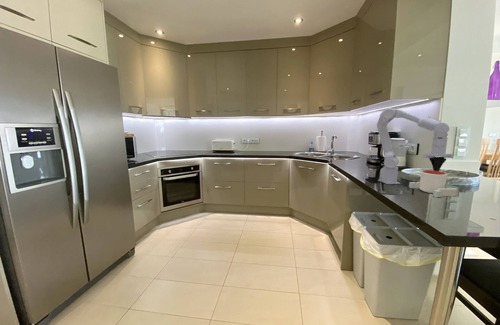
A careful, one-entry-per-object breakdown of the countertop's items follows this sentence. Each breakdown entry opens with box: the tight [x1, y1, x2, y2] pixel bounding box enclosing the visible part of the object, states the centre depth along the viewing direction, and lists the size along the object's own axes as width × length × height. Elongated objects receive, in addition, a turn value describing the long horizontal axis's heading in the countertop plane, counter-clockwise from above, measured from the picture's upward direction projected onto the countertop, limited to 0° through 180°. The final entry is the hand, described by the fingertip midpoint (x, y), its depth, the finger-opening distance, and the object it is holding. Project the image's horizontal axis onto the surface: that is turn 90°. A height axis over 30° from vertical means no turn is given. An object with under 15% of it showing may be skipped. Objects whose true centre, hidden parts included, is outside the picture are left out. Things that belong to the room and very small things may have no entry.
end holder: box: [415, 181, 461, 197], centre depth 111 cm, size 14×10×4 cm
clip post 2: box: [432, 190, 443, 198], centre depth 103 cm, size 2×2×3 cm
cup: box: [419, 169, 448, 194], centre depth 111 cm, size 10×10×10 cm
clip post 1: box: [408, 181, 416, 189], centre depth 119 cm, size 2×2×3 cm
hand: (436, 171), depth 116 cm, fingers closed
